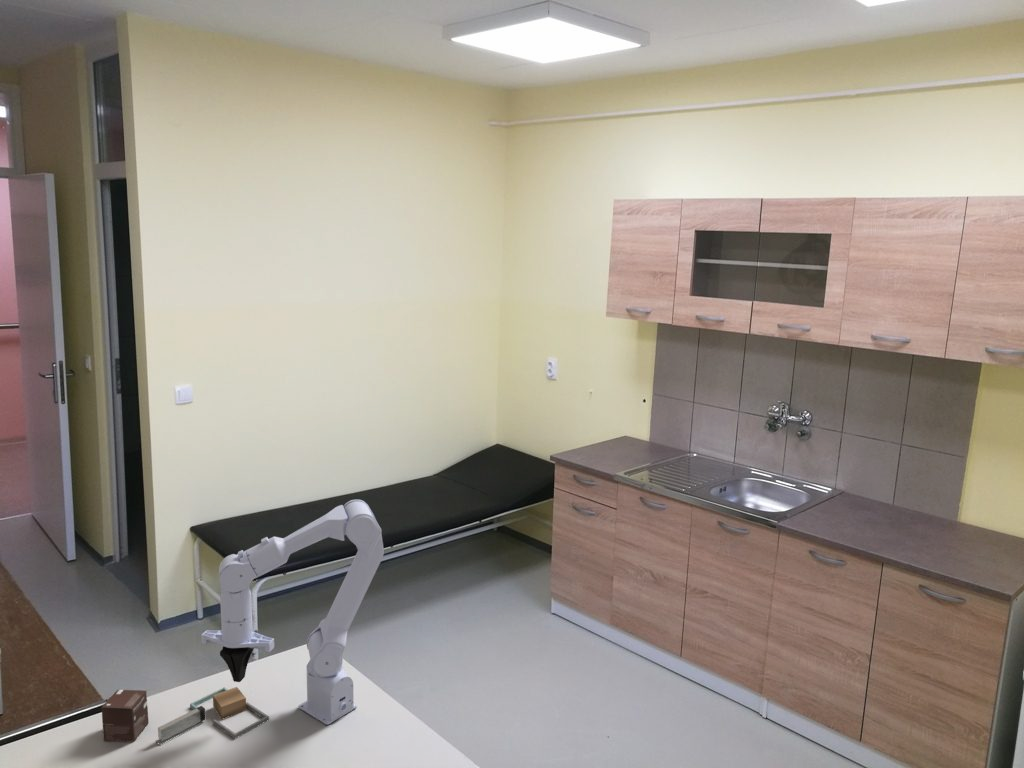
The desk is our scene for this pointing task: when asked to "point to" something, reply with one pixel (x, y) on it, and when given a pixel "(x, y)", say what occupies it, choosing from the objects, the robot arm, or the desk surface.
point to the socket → (228, 731)
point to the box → (125, 715)
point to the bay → (205, 698)
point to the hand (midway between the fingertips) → (239, 679)
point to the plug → (229, 702)
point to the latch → (181, 723)
